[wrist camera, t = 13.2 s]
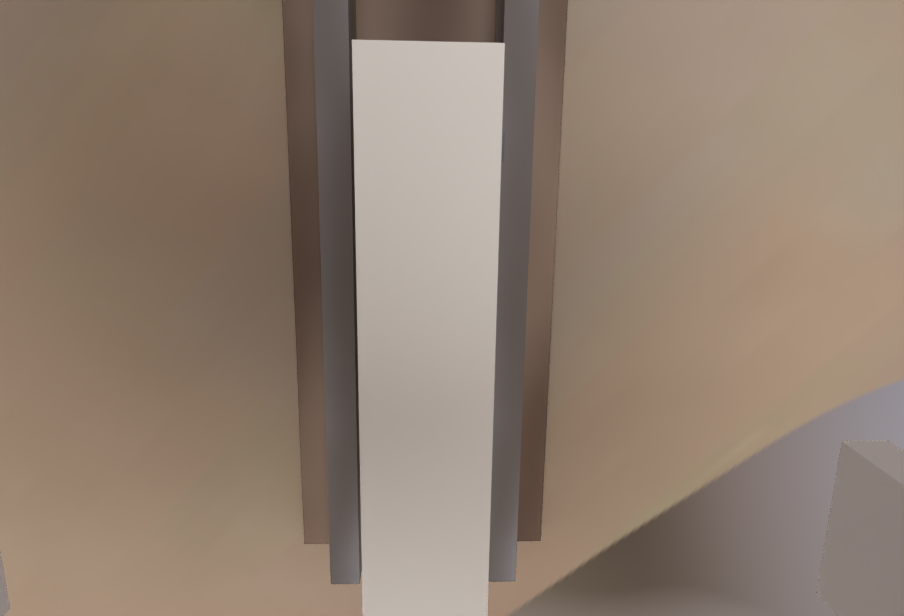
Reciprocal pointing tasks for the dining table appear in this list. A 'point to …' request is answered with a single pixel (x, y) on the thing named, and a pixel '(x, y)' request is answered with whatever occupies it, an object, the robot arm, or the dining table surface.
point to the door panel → (426, 318)
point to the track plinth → (334, 251)
